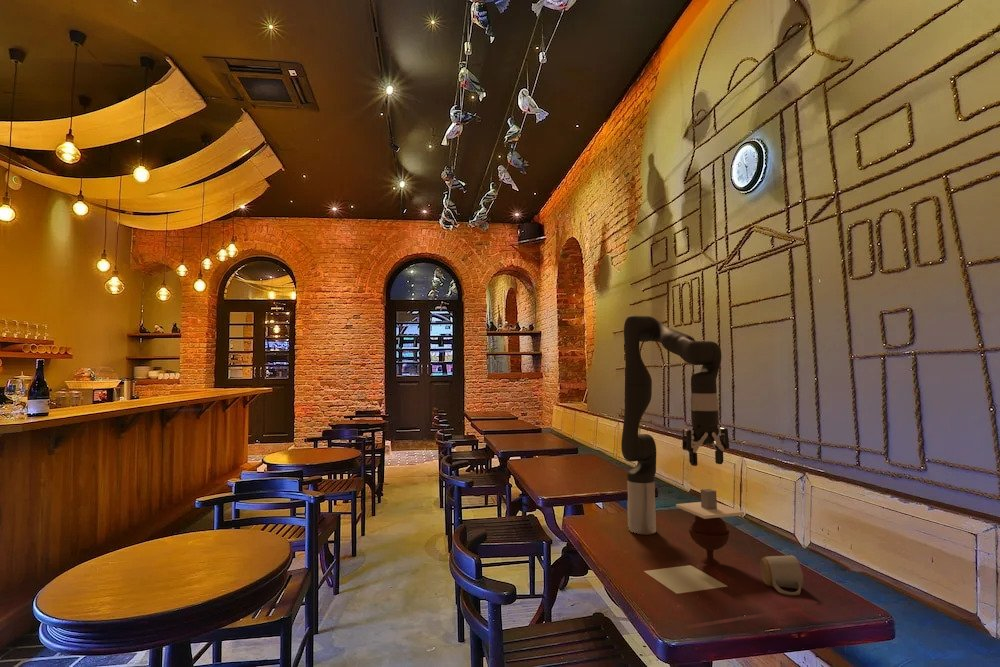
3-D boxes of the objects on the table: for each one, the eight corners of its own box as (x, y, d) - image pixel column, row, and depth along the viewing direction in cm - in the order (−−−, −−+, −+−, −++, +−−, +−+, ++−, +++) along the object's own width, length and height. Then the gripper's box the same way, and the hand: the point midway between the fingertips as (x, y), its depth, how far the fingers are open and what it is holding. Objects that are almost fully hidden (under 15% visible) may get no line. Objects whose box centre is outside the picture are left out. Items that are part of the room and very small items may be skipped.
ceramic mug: (758, 579, 134) (757, 550, 134) (791, 581, 133) (790, 551, 133) (775, 598, 123) (773, 565, 124) (811, 599, 122) (809, 567, 123)
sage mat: (643, 573, 139) (643, 571, 139) (690, 567, 143) (690, 565, 143) (676, 596, 125) (676, 593, 125) (727, 588, 129) (727, 586, 129)
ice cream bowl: (688, 567, 143) (686, 513, 144) (693, 554, 153) (691, 504, 154) (729, 574, 138) (726, 517, 139) (731, 560, 148) (729, 508, 149)
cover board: (676, 506, 151) (675, 487, 151) (713, 503, 154) (712, 484, 155) (704, 518, 138) (703, 497, 139) (744, 514, 142) (743, 493, 142)
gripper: (716, 407, 154) (718, 461, 153) (675, 408, 150) (677, 463, 149) (733, 409, 147) (736, 465, 146) (691, 410, 143) (693, 468, 142)
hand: (706, 464), depth 148 cm, fingers open, 8 cm apart
